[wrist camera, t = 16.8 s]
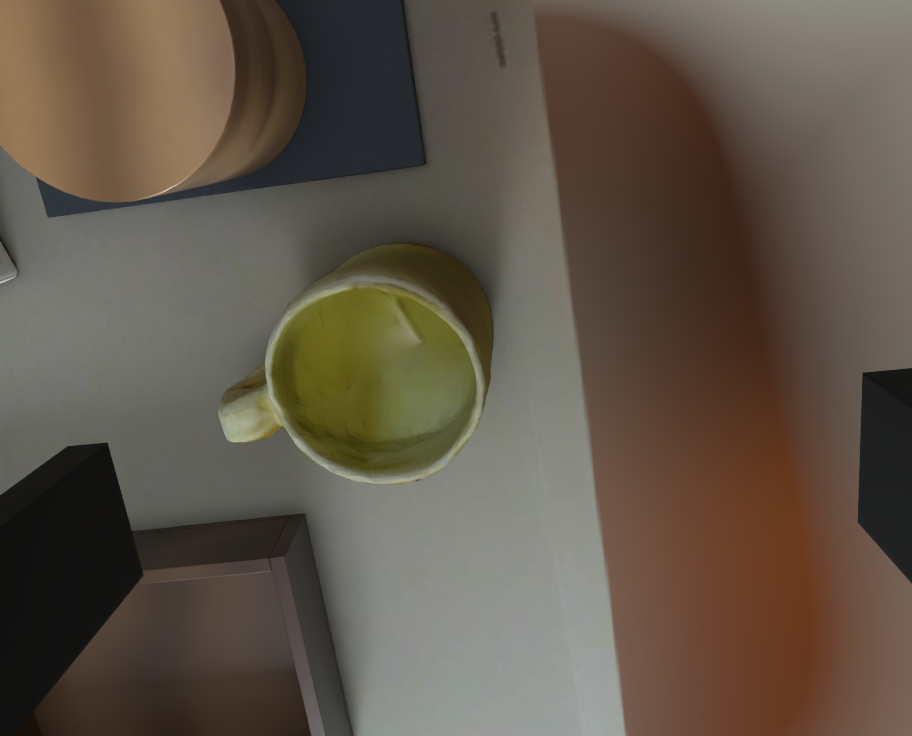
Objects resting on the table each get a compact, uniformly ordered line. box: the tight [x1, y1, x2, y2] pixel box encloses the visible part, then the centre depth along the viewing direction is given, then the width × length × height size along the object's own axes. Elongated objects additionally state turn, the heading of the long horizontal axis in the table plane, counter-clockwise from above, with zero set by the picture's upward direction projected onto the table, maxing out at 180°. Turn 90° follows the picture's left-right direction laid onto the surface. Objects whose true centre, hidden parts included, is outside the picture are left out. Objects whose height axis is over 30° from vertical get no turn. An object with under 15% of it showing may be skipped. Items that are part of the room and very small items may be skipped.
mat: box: [36, 0, 426, 217], centre depth 35 cm, size 18×10×1 cm, turn 98°
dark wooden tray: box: [14, 514, 353, 736], centre depth 43 cm, size 20×16×4 cm
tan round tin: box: [0, 0, 306, 202], centre depth 29 cm, size 9×9×10 cm
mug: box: [218, 243, 494, 485], centre depth 35 cm, size 12×10×10 cm
